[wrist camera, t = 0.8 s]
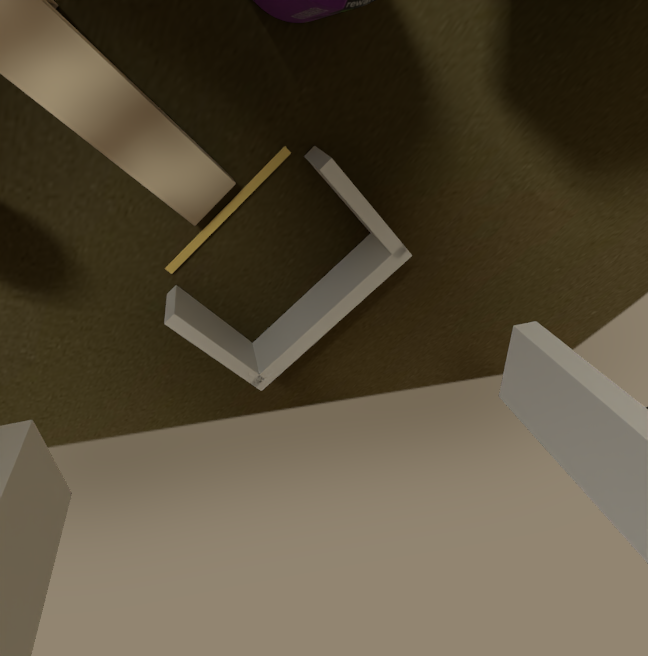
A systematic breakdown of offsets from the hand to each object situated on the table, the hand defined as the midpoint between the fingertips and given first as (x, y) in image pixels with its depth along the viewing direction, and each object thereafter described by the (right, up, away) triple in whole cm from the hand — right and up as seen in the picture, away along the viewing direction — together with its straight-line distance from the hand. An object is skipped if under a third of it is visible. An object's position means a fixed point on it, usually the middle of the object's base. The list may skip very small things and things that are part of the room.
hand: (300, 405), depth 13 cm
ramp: (-12, +15, +14) cm, 24 cm away
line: (-6, +10, +19) cm, 22 cm away
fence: (-3, +7, +22) cm, 23 cm away
